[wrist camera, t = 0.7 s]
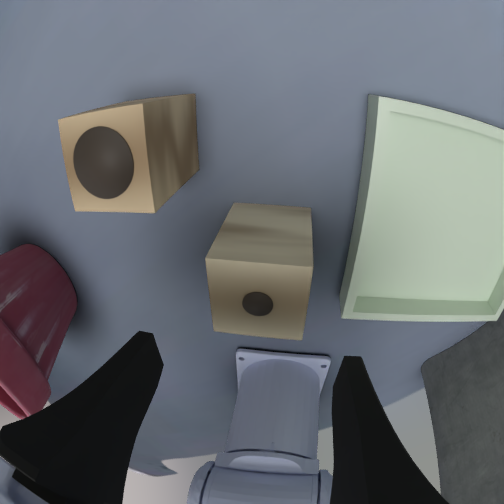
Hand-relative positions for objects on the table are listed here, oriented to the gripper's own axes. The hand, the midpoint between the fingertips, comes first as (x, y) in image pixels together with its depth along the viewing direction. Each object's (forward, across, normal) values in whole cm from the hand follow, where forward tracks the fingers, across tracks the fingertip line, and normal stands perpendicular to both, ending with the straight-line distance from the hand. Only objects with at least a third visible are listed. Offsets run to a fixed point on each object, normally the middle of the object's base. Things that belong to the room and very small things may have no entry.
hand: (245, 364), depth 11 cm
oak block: (+9, +6, -6) cm, 13 cm away
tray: (+9, -12, -2) cm, 15 cm away
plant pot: (+10, +22, +6) cm, 25 cm away
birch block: (+9, 0, 0) cm, 9 cm away
